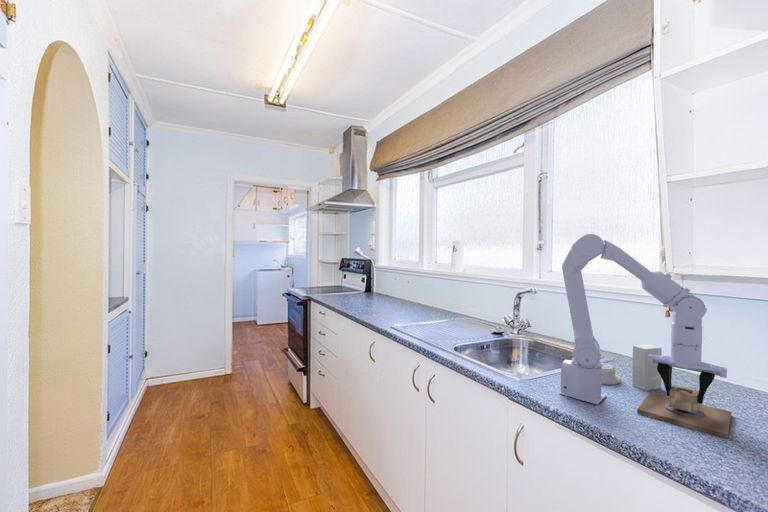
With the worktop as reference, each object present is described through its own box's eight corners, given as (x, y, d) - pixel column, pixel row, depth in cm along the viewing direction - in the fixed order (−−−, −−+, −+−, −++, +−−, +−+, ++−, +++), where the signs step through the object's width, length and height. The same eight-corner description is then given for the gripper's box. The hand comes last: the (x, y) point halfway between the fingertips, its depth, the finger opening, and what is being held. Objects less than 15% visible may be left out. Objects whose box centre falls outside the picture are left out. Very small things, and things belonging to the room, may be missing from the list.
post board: (637, 413, 88) (637, 391, 87) (649, 395, 98) (650, 375, 98) (727, 438, 76) (728, 413, 76) (731, 415, 86) (731, 393, 86)
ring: (669, 406, 87) (669, 390, 87) (672, 400, 90) (673, 384, 90) (696, 413, 83) (696, 396, 83) (698, 407, 87) (699, 390, 87)
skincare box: (646, 383, 107) (647, 343, 106) (661, 388, 103) (662, 347, 102) (631, 385, 105) (632, 345, 105) (645, 391, 101) (646, 349, 101)
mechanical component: (598, 372, 117) (574, 375, 114) (598, 358, 117) (575, 361, 114) (627, 383, 107) (603, 387, 104) (628, 368, 107) (603, 372, 104)
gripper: (645, 340, 89) (644, 394, 89) (726, 353, 78) (724, 414, 79) (651, 335, 94) (650, 386, 94) (728, 347, 83) (726, 404, 84)
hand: (684, 398), depth 87 cm, fingers open, 5 cm apart
